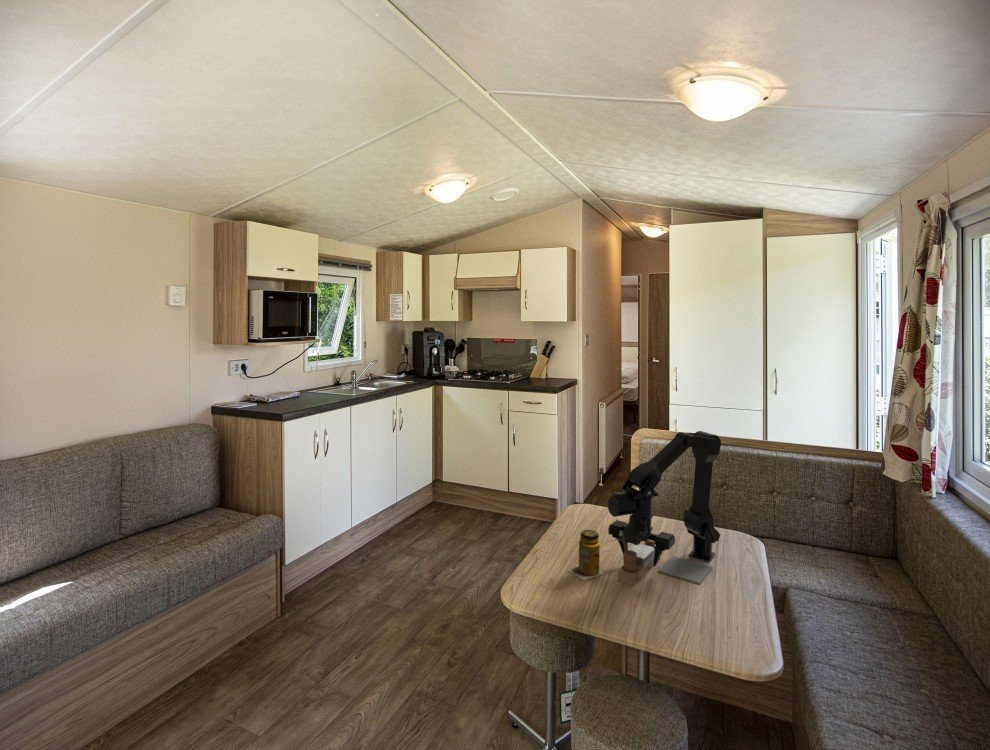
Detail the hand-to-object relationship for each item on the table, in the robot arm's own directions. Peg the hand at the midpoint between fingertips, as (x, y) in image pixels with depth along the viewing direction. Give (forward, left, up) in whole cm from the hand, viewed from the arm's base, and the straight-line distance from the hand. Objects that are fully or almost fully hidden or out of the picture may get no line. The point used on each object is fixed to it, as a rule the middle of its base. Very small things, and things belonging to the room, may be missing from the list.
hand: (639, 561), depth 159 cm
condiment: (+11, -12, -3) cm, 17 cm away
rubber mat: (-8, +11, -2) cm, 14 cm away
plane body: (0, 0, -2) cm, 2 cm away
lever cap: (0, 0, 0) cm, 0 cm away
